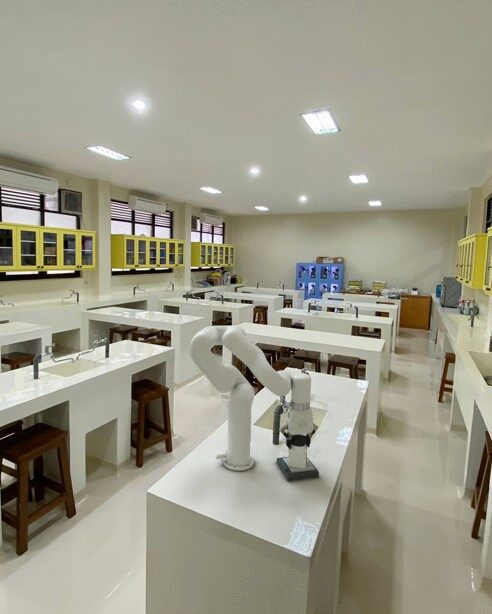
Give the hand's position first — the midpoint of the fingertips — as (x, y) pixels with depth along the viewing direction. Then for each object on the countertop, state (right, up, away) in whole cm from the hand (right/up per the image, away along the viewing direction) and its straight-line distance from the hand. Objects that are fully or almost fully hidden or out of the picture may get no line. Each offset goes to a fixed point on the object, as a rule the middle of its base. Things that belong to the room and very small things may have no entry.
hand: (298, 446), depth 152 cm
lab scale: (0, -10, +1) cm, 10 cm away
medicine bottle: (0, -7, +1) cm, 8 cm away
